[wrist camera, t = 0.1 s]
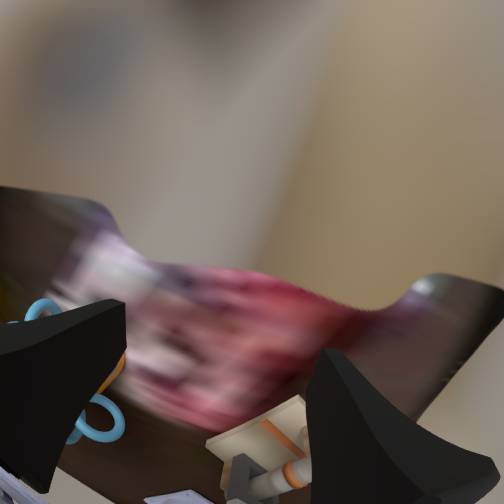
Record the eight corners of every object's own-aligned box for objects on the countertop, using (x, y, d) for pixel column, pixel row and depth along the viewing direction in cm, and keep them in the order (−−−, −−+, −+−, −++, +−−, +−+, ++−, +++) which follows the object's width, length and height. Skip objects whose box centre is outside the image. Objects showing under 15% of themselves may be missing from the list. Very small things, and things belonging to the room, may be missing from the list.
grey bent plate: (268, 482, 20) (267, 543, 12) (232, 456, 20) (222, 523, 12) (278, 478, 20) (279, 540, 12) (243, 452, 19) (235, 521, 12)
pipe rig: (263, 483, 22) (262, 523, 16) (207, 440, 21) (194, 483, 16) (346, 445, 21) (360, 486, 15) (298, 394, 20) (306, 441, 15)
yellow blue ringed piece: (180, 351, 21) (85, 497, 6) (131, 418, 22) (60, 525, 7) (70, 259, 20) (-76, 295, 5) (42, 340, 21) (-59, 399, 6)
